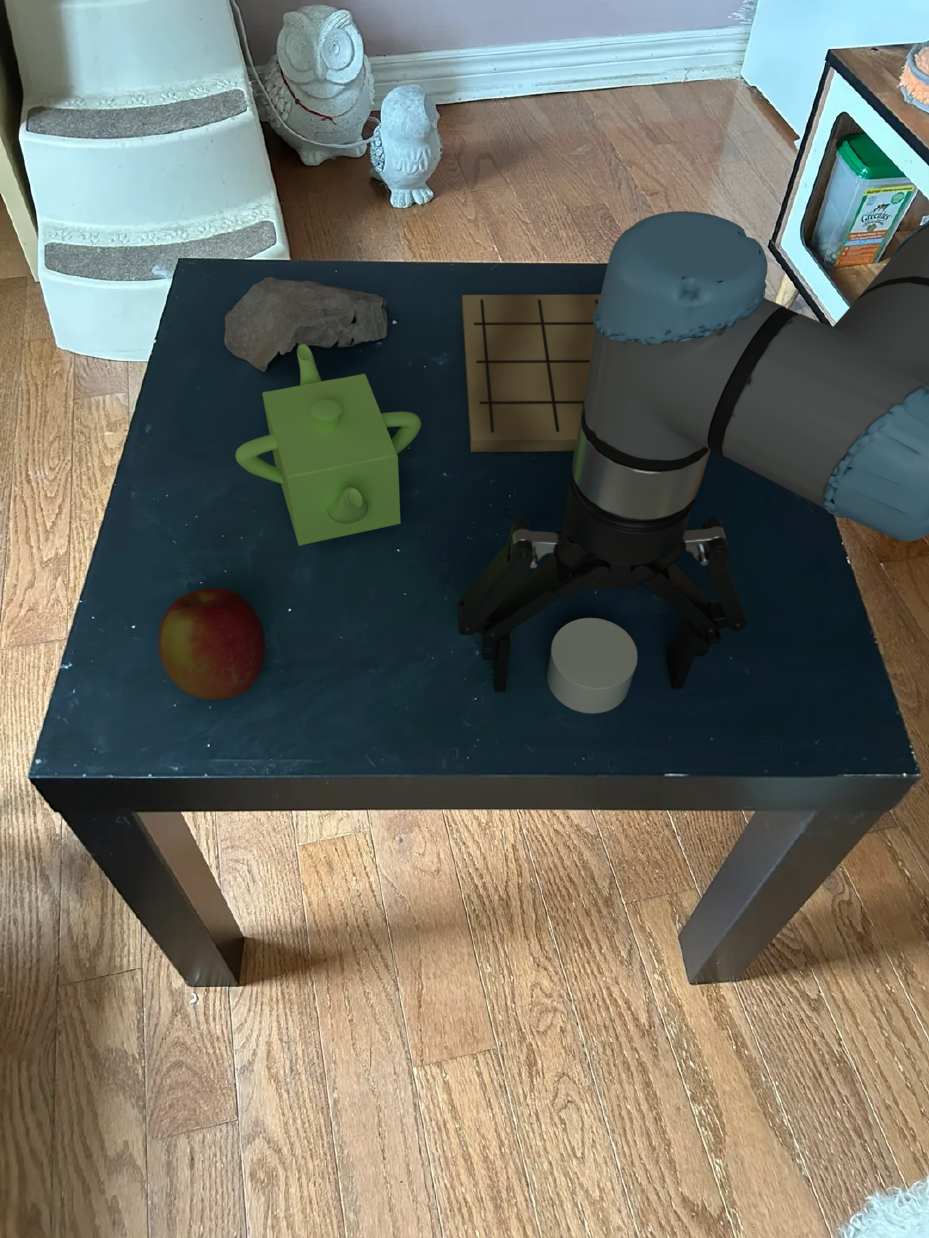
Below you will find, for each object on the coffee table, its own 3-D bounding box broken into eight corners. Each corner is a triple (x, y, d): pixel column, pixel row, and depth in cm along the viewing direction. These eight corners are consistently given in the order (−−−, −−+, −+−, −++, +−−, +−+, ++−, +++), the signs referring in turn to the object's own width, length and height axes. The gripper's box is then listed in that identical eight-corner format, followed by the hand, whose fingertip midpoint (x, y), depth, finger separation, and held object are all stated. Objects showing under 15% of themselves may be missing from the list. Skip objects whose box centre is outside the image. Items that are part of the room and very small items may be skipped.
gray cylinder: (623, 643, 76) (631, 616, 73) (635, 712, 72) (643, 687, 70) (543, 644, 76) (547, 618, 73) (550, 714, 72) (555, 689, 69)
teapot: (311, 425, 90) (299, 330, 82) (441, 468, 87) (443, 374, 79) (224, 536, 82) (200, 443, 73) (365, 587, 79) (358, 496, 70)
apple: (286, 640, 76) (272, 575, 69) (253, 727, 71) (235, 667, 64) (193, 624, 76) (171, 558, 70) (154, 709, 72) (127, 647, 65)
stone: (334, 426, 95) (392, 345, 104) (356, 363, 88) (416, 283, 98) (195, 351, 94) (266, 276, 103) (207, 281, 87) (281, 208, 97)
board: (686, 306, 103) (689, 293, 102) (727, 450, 90) (732, 436, 89) (461, 307, 102) (462, 293, 101) (470, 452, 89) (471, 439, 87)
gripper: (824, 434, 60) (736, 633, 77) (422, 436, 59) (424, 638, 76) (858, 524, 55) (757, 714, 72) (424, 528, 54) (425, 720, 71)
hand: (587, 675), depth 74 cm, fingers open, 13 cm apart
